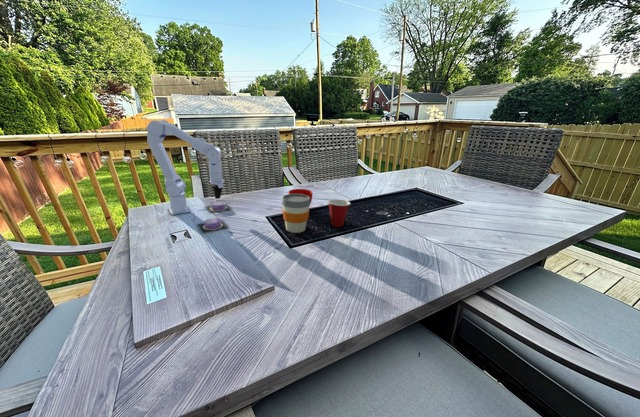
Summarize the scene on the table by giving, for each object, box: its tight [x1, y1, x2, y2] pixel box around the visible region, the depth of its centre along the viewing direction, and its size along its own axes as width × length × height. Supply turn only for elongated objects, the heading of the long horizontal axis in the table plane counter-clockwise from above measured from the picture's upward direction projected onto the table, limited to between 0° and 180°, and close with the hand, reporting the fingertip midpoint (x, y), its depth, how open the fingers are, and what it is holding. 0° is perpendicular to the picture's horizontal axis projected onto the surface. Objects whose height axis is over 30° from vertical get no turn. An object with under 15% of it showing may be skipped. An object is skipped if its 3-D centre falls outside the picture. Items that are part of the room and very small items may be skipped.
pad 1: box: [205, 204, 231, 214], centre depth 140 cm, size 10×10×1 cm
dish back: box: [210, 201, 226, 210], centre depth 140 cm, size 7×7×3 cm
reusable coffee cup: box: [281, 193, 311, 234], centre depth 118 cm, size 13×12×15 cm
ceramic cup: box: [288, 188, 313, 207], centre depth 141 cm, size 13×17×10 cm
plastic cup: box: [327, 198, 351, 228], centre depth 125 cm, size 11×11×12 cm
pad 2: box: [197, 220, 228, 234], centre depth 118 cm, size 10×10×1 cm
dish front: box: [203, 217, 222, 229], centre depth 118 cm, size 7×7×2 cm
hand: (217, 198), depth 133 cm, fingers closed
